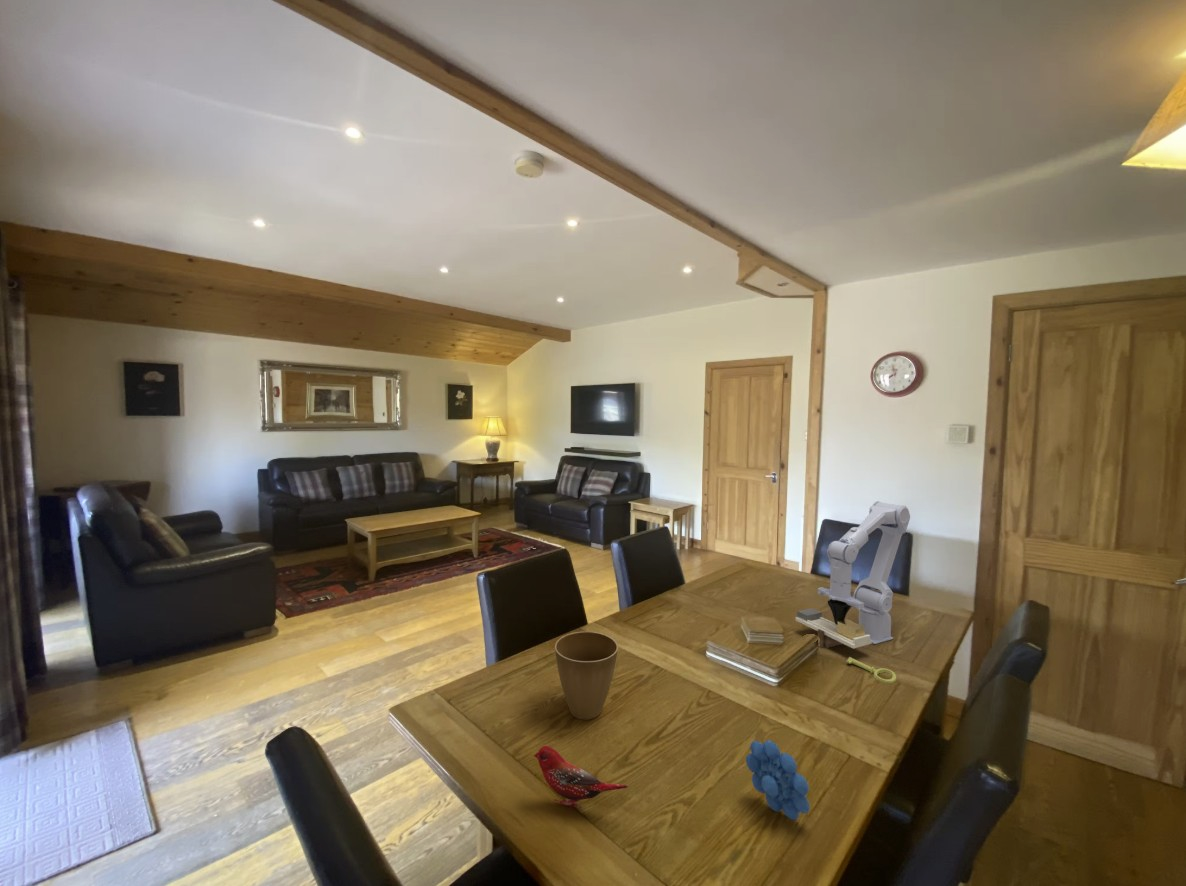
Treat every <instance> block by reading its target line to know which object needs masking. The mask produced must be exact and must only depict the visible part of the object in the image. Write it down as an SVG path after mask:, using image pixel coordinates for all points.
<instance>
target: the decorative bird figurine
mask: <svg viewBox="0 0 1186 886" xmlns="http://www.w3.org/2000/svg"><path fill="white" fill-rule="evenodd" d="M533 757H535V758H536V759H537V760H538V765H539V767H540V769H541V772H542V775H543V779H544V780H545V781H546V783H547V785H548V787H550V788H551V790H552V791H554V792H555V793H556V794H557V795H559V796H560V797H562V798H564V799H562V800H559V799H556V798H555V799H554V801H556V802H558V803H560V804H561V805H563V806H566V807H567V806H570V807H574V808H577V807H578V808H581V809H582V806H581V805H580V804H579V803H577V802H579V801H583V800H589V799H595V797H597V796H599V795H600V794H602V793H603V792H607V791H614V790H621V789H627V788H629V786H628V785H625V784H619V783H608V782H602V781H600V780H599V779H598V778H596V777H595V776H593V775H592V774H590V773H589V772H587V771H586V770H584V769H582V768H581V767H578V766H576V765H574V764H572V763H571V762H569V761H567V760H565V759H564V758H563V757H562V755H561V754H560V753H559V752H558V751H557V750H556V749H554V748H553V747H550V746H549V745H543V746H542V747H541V748H540V749H539V750H538V752H536V753H534V755H533ZM566 799H567V800H566Z"/></svg>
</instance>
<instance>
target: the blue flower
mask: <svg viewBox="0 0 1186 886" xmlns="http://www.w3.org/2000/svg"><path fill="white" fill-rule="evenodd" d="M749 746H750V747H749V749H750V752H751V753H748V754H747V755H746V758H745V761H746V766H747V768H748V769H749V770H750V771H751V773H753V774H752V775H751V782H752V786H753V787H754V789H755V790H756V791H757V792H759V793H761V794H765V800H766V804H767V805H768V807H769V809H771V810H773V811H774V812H776V813H777V812H781V811H782V812H783V814H784V815H785V817H786V818H788V819H790V820H792V821H796V820H798V818H799V817H800V813H801V814H804V815H805V814H808V813H809V811H810V802H809V800H808V797H807V796H806V795H808V794H809V791H810V787H809V783H808V781H807V779H806V778H805V777H804V776H803V775H802V774H800V773H797V771H798V770H797V768H798V766H797V763H796V760H795V758H794V757H793V756H792V755H791V754H789V753H788V752H787V753H786V752H782V753H781V751H780V748H779V745H778V744H777V743H776V742H774V741H772V740H765V741H764V742H763V743H762V742H761V741H758V740H753V741H751V743H750V745H749Z"/></svg>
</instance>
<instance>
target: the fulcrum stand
mask: <svg viewBox="0 0 1186 886" xmlns="http://www.w3.org/2000/svg"><path fill="white" fill-rule="evenodd" d="M817 636H819V638H820V647H821V649H823V648H826V647H827V649H829V648H832V647H836V645H837V646H840V645H844V644H843V643H841V642H839V641H837V640H835V639H833V638H831V637H829V636H827V635H824V631H823V630H821V629H818V631H817ZM824 646H825V647H824ZM820 647H819V648H820ZM822 647H823V648H822Z"/></svg>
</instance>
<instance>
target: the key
mask: <svg viewBox="0 0 1186 886" xmlns="http://www.w3.org/2000/svg"><path fill="white" fill-rule="evenodd" d="M845 662H846V663H848V664H853V665H856V666H858V667H860V668H861V669H863V670H866V671H868V672H870V674H873V678H874V679H875V680H876V681H878V682H880V683H884V684H893V683H894V682H896V681H897V675H896V673H895V672H894V671H893V670H891V669H888V668H878V669H876V668H875V666H870V665H868V664H865V663H863V662H861V661H858V660H857V659H854V658H853V657H851V656H849V657H848V658H847V660H845ZM884 672H886V674H889V675H890V676H891V678H889V679H885V678H882V677H880V676H879V675H880V674H882V673H884ZM879 673H880V674H879ZM884 674H885V673H884Z"/></svg>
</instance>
